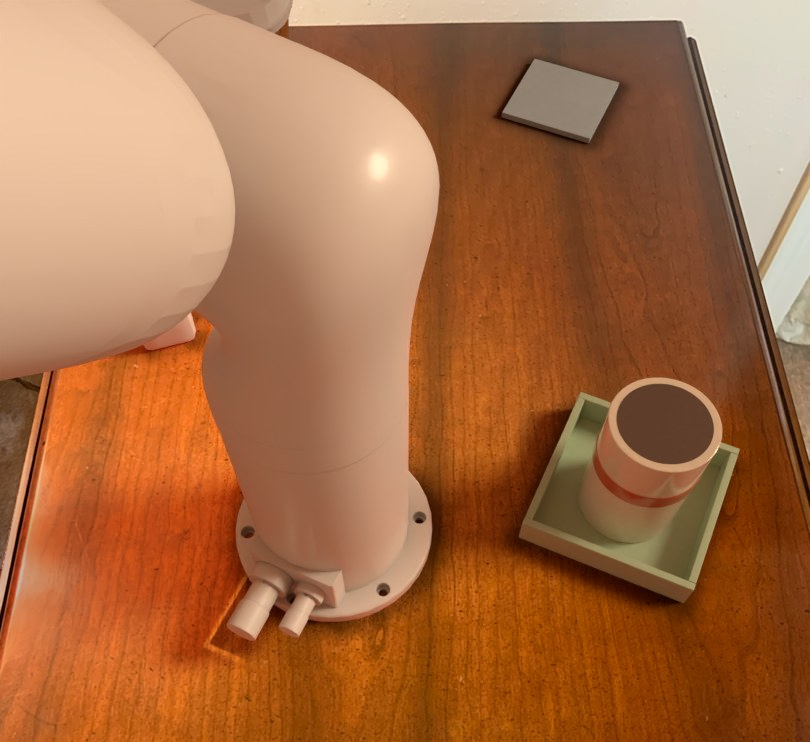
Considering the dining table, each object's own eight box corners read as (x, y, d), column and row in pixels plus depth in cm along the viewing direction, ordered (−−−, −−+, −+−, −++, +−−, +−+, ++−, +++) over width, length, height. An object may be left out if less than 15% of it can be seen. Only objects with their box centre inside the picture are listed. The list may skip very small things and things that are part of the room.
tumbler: (659, 559, 52) (706, 489, 44) (563, 521, 53) (591, 447, 45) (687, 478, 55) (737, 399, 46) (595, 444, 56) (627, 360, 48)
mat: (588, 143, 69) (589, 138, 69) (501, 117, 71) (501, 112, 70) (618, 87, 73) (619, 82, 72) (533, 63, 74) (534, 58, 74)
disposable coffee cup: (304, 166, 68) (285, 21, 57) (190, 164, 68) (150, 20, 57) (312, 91, 72) (296, -57, 62) (205, 89, 72) (170, -59, 62)
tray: (681, 605, 51) (693, 590, 49) (517, 539, 53) (522, 522, 51) (727, 467, 55) (740, 448, 53) (573, 411, 57) (580, 391, 55)
